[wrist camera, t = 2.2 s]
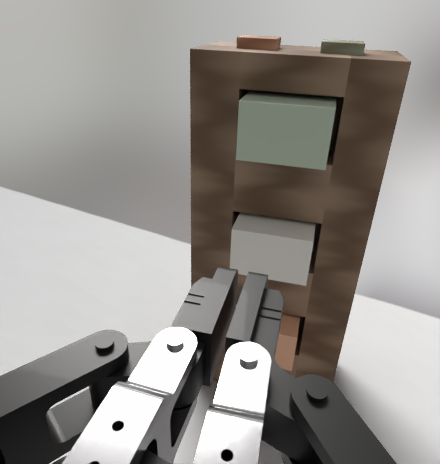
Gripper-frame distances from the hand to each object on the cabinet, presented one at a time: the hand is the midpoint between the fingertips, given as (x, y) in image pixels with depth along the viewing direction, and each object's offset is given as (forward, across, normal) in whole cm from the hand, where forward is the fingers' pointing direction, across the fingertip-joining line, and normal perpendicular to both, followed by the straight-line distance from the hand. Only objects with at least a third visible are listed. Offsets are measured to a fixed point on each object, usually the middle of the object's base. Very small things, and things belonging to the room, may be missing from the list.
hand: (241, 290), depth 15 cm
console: (+15, 0, +20) cm, 25 cm away
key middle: (+12, 0, +7) cm, 14 cm away
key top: (+12, 0, -1) cm, 12 cm away
